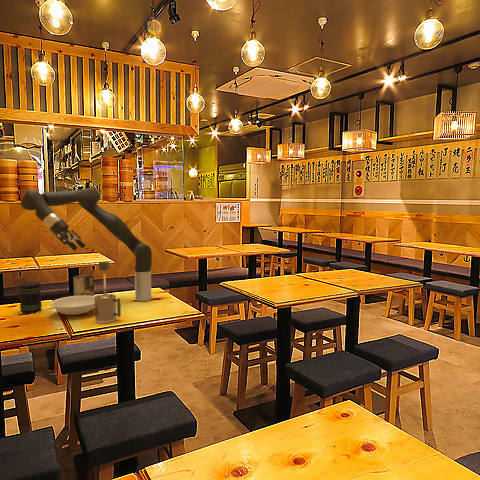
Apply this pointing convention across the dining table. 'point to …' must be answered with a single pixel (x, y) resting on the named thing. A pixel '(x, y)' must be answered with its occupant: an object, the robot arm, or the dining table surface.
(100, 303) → the brown mug
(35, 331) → the dining table surface
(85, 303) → the soup bowl
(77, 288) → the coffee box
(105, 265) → the plunger
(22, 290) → the storage jar
